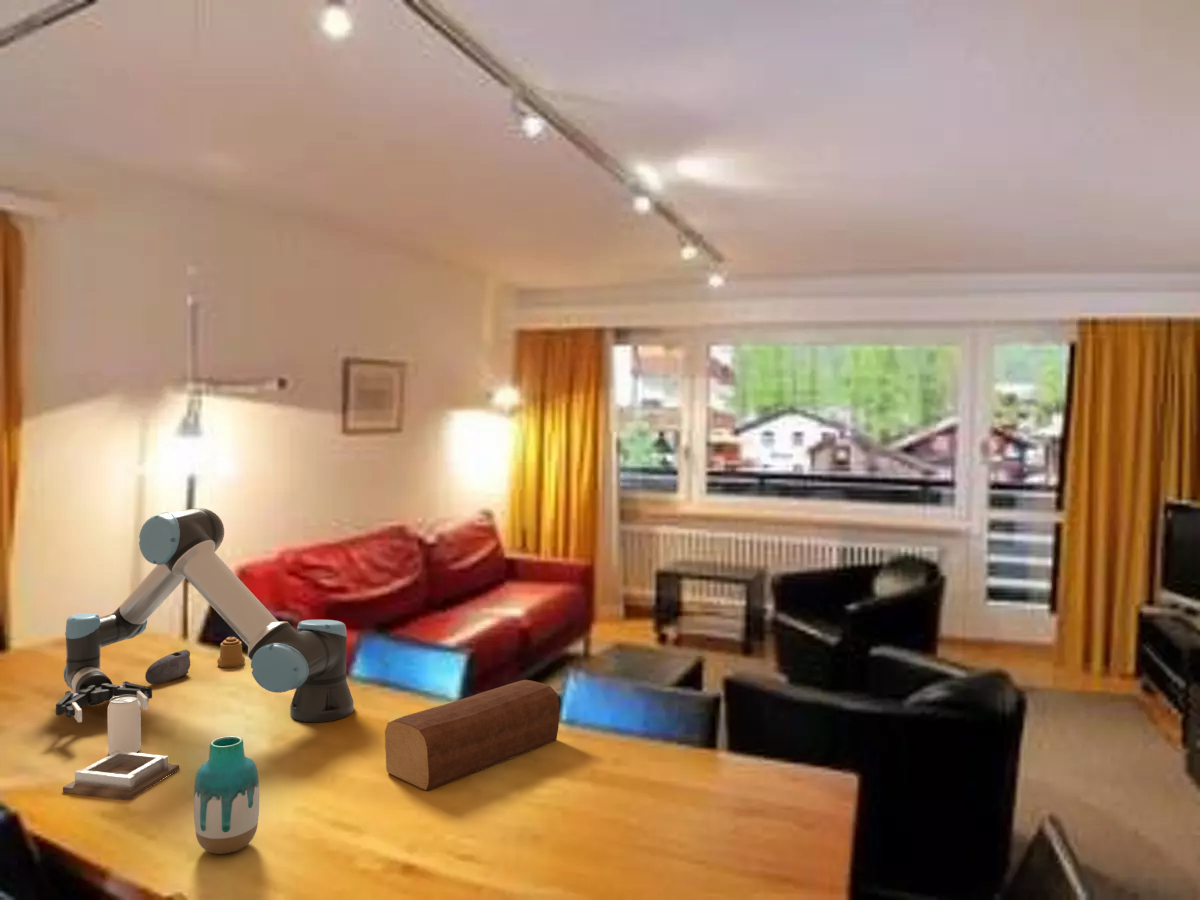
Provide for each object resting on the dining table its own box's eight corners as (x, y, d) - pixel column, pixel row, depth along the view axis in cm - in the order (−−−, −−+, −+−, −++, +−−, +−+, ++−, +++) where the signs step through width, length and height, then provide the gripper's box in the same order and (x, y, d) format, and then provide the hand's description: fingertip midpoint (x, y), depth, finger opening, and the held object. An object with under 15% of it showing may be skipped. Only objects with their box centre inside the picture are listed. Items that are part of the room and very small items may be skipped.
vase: (206, 834, 167) (205, 730, 166) (266, 833, 168) (266, 729, 166) (184, 864, 156) (183, 753, 155) (249, 862, 157) (248, 752, 156)
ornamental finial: (248, 665, 269) (222, 670, 264) (239, 659, 275) (213, 664, 270) (248, 638, 269) (222, 642, 264) (239, 633, 274) (213, 637, 269)
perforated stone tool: (152, 689, 246) (152, 663, 246) (138, 686, 248) (138, 661, 248) (197, 674, 260) (197, 649, 260) (183, 671, 262) (183, 647, 262)
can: (127, 759, 200) (126, 704, 199) (101, 756, 201) (100, 702, 200) (147, 748, 206) (147, 695, 205) (122, 745, 207) (121, 692, 207)
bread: (561, 742, 215) (562, 685, 214) (428, 795, 185) (428, 729, 184) (514, 726, 225) (515, 671, 224) (381, 773, 195) (381, 711, 195)
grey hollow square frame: (168, 767, 193) (168, 756, 193) (130, 790, 182) (130, 778, 182) (115, 762, 196) (115, 750, 195) (74, 784, 184) (74, 771, 184)
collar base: (179, 769, 195) (179, 765, 195) (129, 800, 180) (129, 795, 180) (116, 762, 198) (116, 758, 198) (62, 792, 183) (62, 787, 183)
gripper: (147, 691, 235) (172, 714, 218) (33, 711, 218) (51, 738, 202) (147, 662, 234) (171, 683, 218) (33, 680, 218) (50, 704, 202)
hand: (113, 709), depth 210 cm, fingers open, 13 cm apart
